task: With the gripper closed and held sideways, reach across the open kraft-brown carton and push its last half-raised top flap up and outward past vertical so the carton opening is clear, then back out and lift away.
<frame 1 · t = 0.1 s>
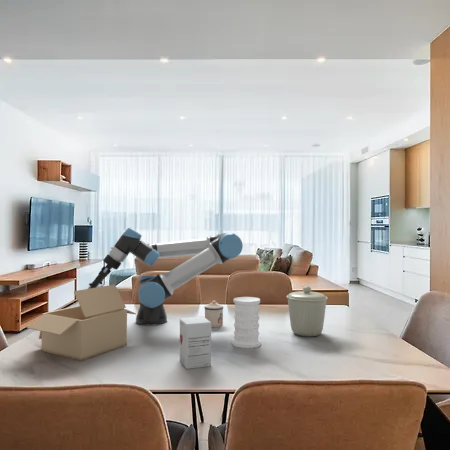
hand: (86, 296, 172), 15 cm above the table, tool tilted 35°, fingers open, 13 cm apart
carton flap: (101, 299, 144), point 19 cm above the table, hinge at -35.0°
supplement box: (194, 363, 132), on the table
decorative container: (246, 344, 155), on the table
teacup with lid: (214, 324, 186), on the table
carton: (85, 347, 148), on the table
canister: (306, 334, 170), on the table
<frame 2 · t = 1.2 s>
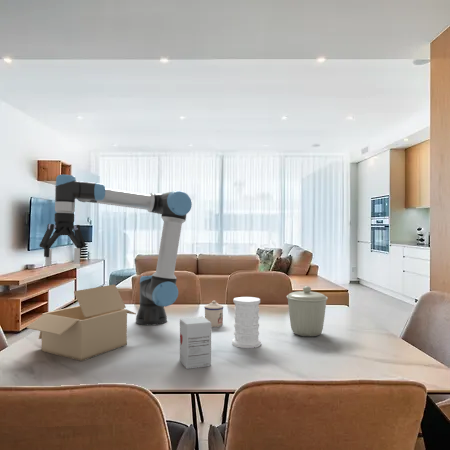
hand: (63, 264, 157), 31 cm above the table, tool pointing down, fingers open, 13 cm apart
nothing on the table moved.
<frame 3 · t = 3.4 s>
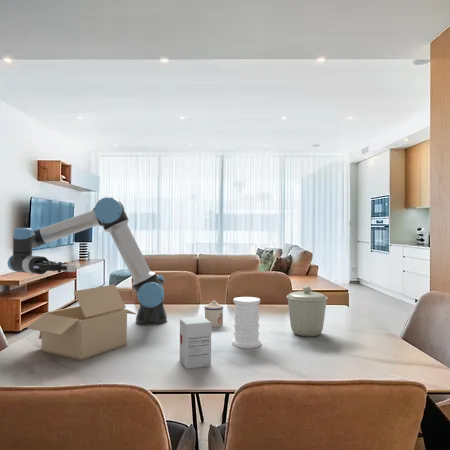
hand: (74, 268, 152), 30 cm above the table, tool horizontal, fingers closed
nothing on the table moved.
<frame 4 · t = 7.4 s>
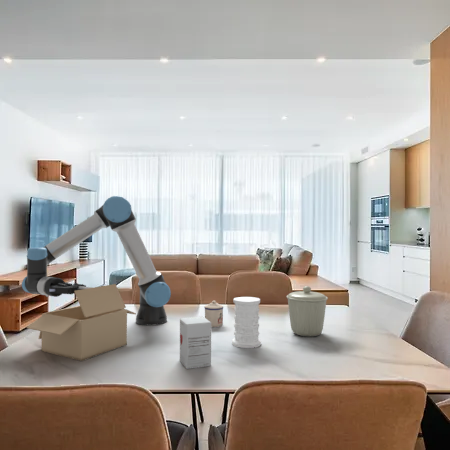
hand: (91, 291, 144), 22 cm above the table, tool horizontal, fingers closed
carton flap: (101, 299, 144), point 19 cm above the table, hinge at -33.1°, touching gripper
everything else where it was.
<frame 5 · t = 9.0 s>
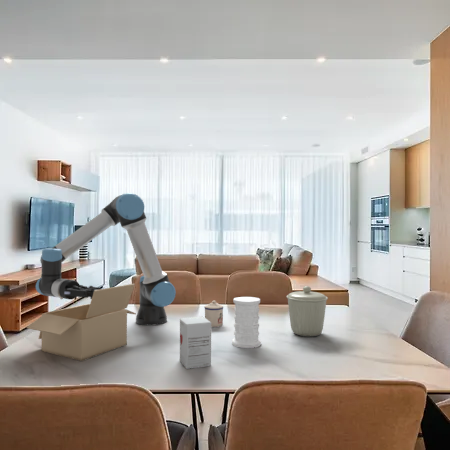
hand: (108, 295, 140), 22 cm above the table, tool horizontal, fingers closed
carton flap: (111, 299, 141), point 20 cm above the table, hinge at 22.7°, touching gripper
everything else where it was.
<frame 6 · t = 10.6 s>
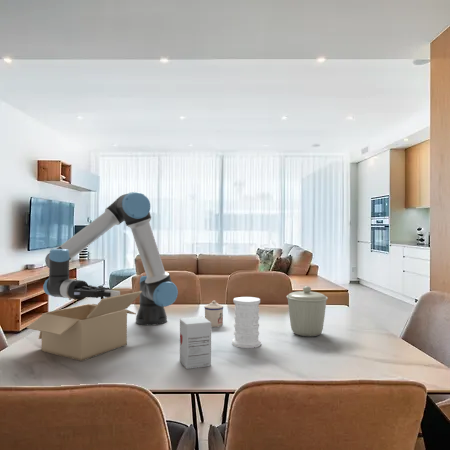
hand: (118, 295, 140), 22 cm above the table, tool horizontal, fingers closed
carton flap: (115, 303, 141), point 19 cm above the table, hinge at 46.6°, touching gripper
everything else where it was.
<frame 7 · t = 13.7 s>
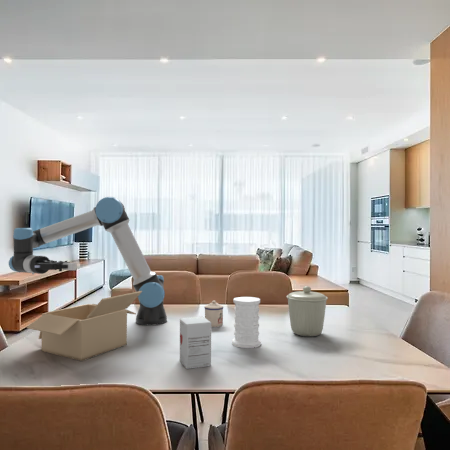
hand: (75, 266, 151), 31 cm above the table, tool horizontal, fingers closed
carton flap: (115, 303, 141), point 19 cm above the table, hinge at 46.7°
everything else where it was.
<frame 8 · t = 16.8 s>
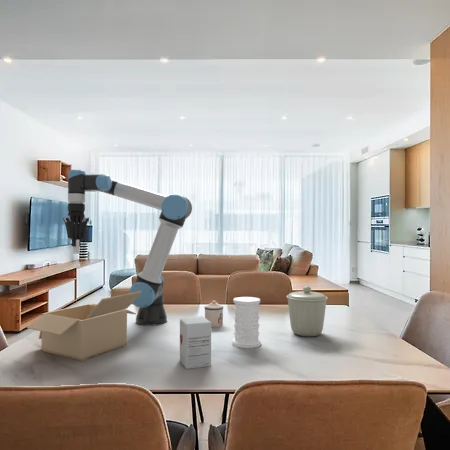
hand: (75, 253, 179), 34 cm above the table, tool pointing down, fingers closed
nothing on the table moved.
at the end: carton flap at +47° (first picture: -35°) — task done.
